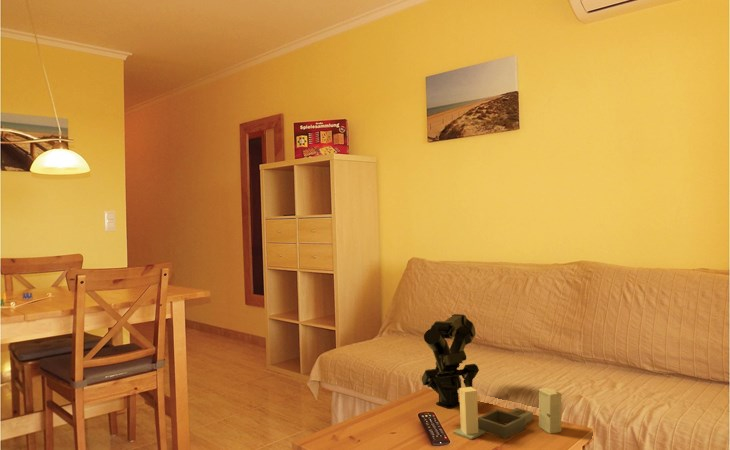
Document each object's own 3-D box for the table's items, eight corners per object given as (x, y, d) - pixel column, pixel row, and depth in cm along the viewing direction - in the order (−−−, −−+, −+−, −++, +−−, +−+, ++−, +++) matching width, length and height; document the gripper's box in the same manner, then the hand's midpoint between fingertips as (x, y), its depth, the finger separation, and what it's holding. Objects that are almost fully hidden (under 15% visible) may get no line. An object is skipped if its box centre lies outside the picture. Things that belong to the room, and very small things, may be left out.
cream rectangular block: (460, 429, 169) (459, 388, 169) (472, 427, 170) (471, 386, 170) (466, 434, 166) (464, 392, 165) (478, 432, 167) (476, 390, 166)
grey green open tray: (477, 428, 171) (477, 417, 171) (511, 413, 183) (511, 403, 183) (505, 438, 163) (505, 427, 163) (539, 421, 175) (539, 411, 175)
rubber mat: (453, 433, 168) (453, 431, 168) (467, 426, 173) (467, 424, 173) (471, 439, 163) (471, 437, 163) (485, 433, 168) (485, 431, 168)
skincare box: (538, 427, 171) (537, 388, 170) (550, 424, 172) (549, 386, 172) (550, 434, 165) (549, 394, 165) (562, 432, 166) (561, 392, 166)
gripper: (423, 345, 177) (438, 389, 167) (475, 339, 182) (493, 382, 172) (415, 363, 185) (429, 406, 175) (465, 357, 190) (481, 398, 180)
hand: (458, 398), depth 175 cm, fingers open, 9 cm apart
